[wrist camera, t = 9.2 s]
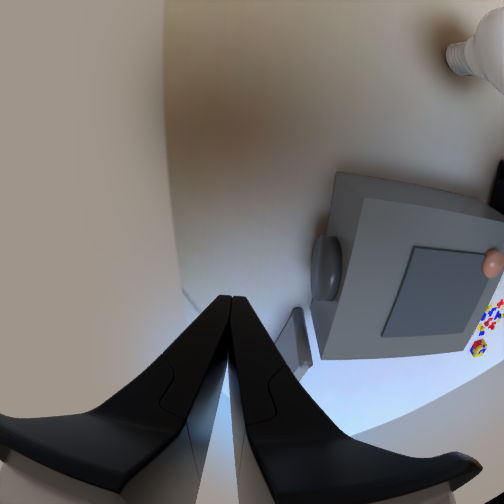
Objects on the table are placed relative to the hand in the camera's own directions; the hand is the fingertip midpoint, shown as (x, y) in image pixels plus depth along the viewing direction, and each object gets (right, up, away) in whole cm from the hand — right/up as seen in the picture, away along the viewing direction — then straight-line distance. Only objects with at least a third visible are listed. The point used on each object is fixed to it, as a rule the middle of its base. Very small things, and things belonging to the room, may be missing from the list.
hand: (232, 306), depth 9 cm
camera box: (+13, +2, +14) cm, 19 cm away
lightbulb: (+16, +17, +6) cm, 24 cm away
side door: (+2, -9, +19) cm, 21 cm away
